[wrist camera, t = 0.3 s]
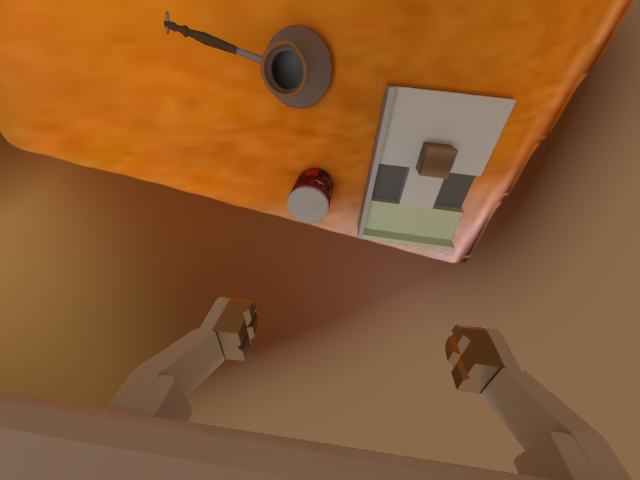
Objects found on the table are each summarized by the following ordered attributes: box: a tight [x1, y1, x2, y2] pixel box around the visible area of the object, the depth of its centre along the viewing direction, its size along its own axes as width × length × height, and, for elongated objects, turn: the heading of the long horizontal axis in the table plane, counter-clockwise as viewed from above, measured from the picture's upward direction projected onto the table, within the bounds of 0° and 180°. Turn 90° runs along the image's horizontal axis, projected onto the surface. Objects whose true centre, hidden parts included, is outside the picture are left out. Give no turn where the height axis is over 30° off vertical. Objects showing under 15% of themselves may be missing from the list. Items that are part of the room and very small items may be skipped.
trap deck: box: [358, 85, 516, 251], centre depth 50 cm, size 29×21×6 cm
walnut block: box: [416, 142, 458, 179], centre depth 46 cm, size 5×5×4 cm
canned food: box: [287, 168, 333, 223], centre depth 52 cm, size 8×8×11 cm
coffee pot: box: [164, 11, 332, 108], centre depth 38 cm, size 21×12×15 cm, turn 71°
